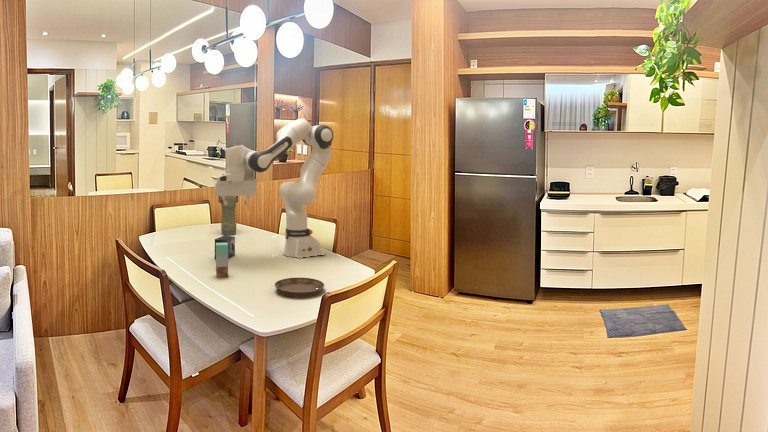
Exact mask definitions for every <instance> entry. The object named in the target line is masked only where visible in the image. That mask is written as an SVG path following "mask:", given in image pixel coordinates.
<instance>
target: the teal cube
mask: <svg viewBox="0 0 768 432" xmlns="http://www.w3.org/2000/svg"><path fill="white" fill-rule="evenodd" d="M216 256H228V243H227V242H226V243H216Z"/></svg>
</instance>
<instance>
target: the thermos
mask: <svg viewBox="0 0 768 432" xmlns="http://www.w3.org/2000/svg"><path fill="white" fill-rule="evenodd" d="M224 199H225V201H227V202H228V203H227V204H228V205H224V201H223V199H222V196H218V203H220V206H221V225H220V227H221V229H220V230H221V235H222V236H236V235H237V222H236V207H237V203H238V202H239V196H225V198H224Z"/></svg>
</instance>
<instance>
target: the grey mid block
mask: <svg viewBox="0 0 768 432" xmlns="http://www.w3.org/2000/svg"><path fill="white" fill-rule="evenodd" d="M216 267H228V268H229V258H228V256H216V259H215V268H216Z"/></svg>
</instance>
